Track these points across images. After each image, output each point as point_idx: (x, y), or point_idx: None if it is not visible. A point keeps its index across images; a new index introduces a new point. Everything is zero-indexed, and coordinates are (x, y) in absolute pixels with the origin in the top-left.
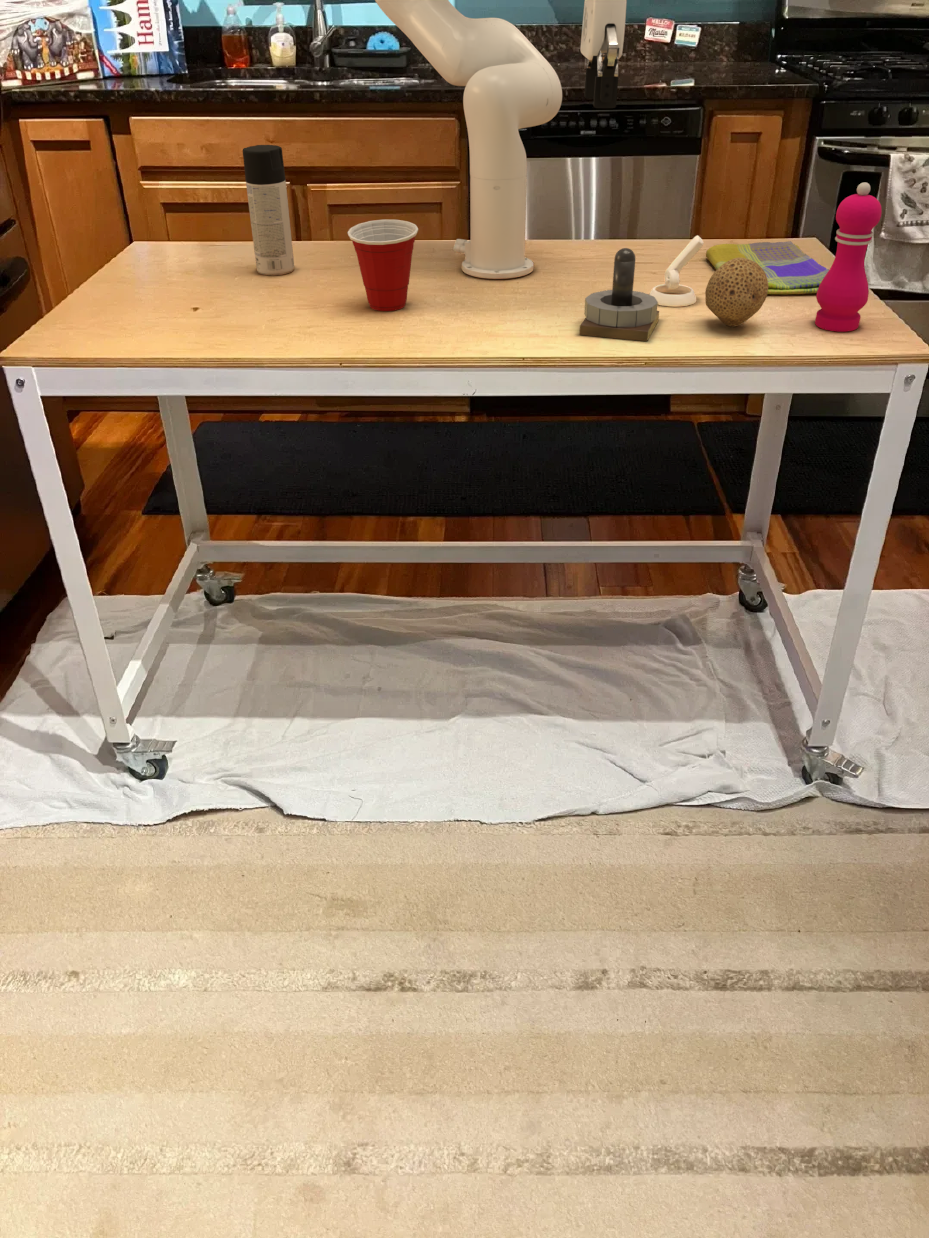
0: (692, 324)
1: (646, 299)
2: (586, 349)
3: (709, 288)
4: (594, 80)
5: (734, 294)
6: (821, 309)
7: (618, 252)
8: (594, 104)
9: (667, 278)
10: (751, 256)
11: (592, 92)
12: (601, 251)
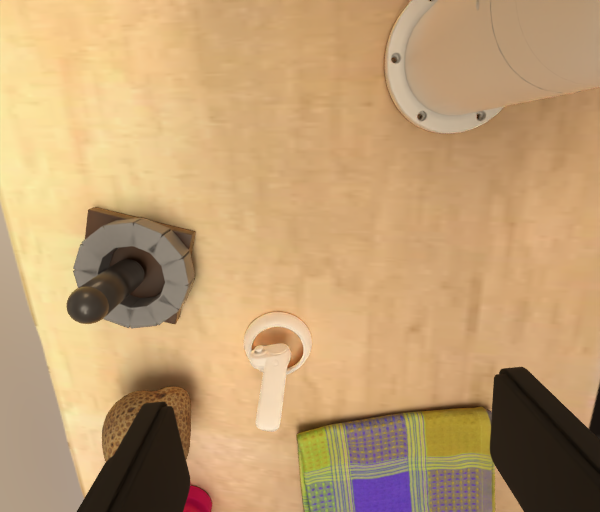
0: (170, 358)
1: (140, 314)
2: (36, 215)
3: (126, 405)
4: (549, 478)
5: (102, 432)
6: (191, 503)
7: (74, 297)
8: (142, 411)
9: (269, 350)
10: (447, 463)
11: (508, 418)
12: (554, 257)
